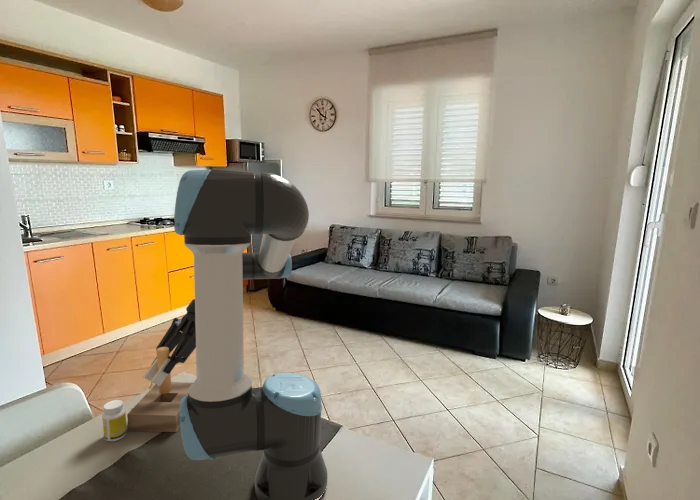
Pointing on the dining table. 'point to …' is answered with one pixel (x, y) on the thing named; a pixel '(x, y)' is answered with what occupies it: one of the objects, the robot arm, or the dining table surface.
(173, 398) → the walnut block
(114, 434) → the supplement bottle
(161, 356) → the dowel
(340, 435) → the dining table surface
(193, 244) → the robot arm
